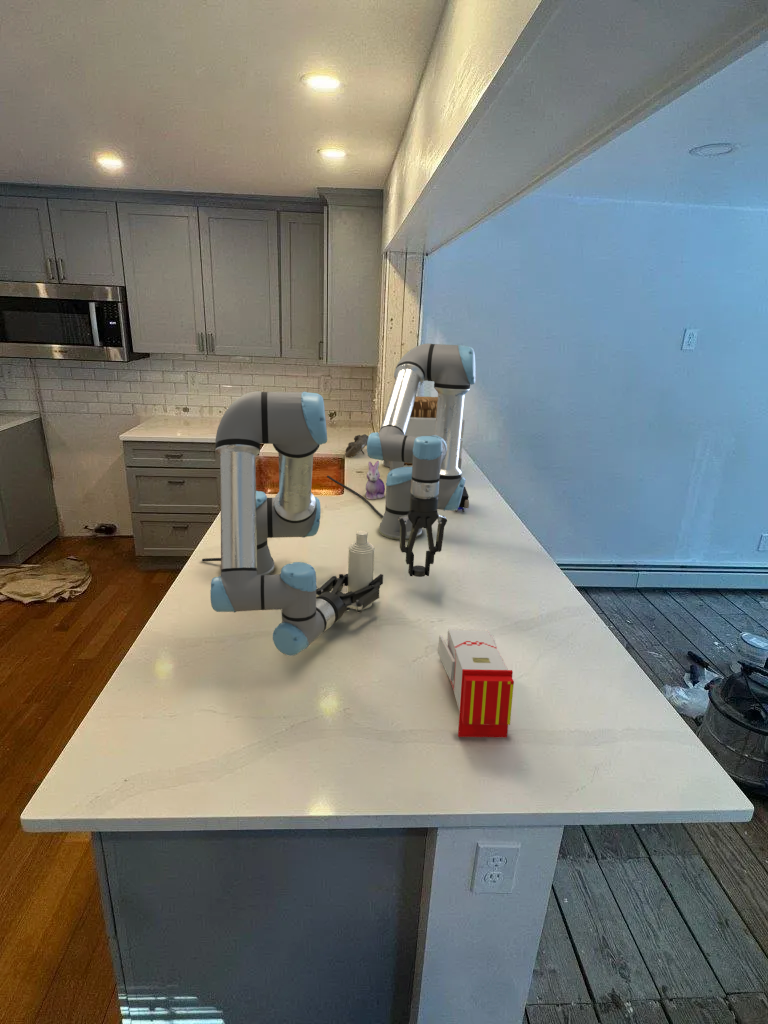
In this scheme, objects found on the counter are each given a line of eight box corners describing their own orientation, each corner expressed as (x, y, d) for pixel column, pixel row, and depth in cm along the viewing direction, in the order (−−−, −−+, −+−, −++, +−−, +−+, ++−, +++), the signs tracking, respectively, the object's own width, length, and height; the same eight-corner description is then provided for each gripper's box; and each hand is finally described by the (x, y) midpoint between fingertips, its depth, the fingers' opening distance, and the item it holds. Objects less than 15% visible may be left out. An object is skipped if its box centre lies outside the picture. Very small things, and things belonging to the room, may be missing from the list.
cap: (422, 570, 162) (423, 564, 161) (428, 576, 158) (428, 570, 158) (409, 571, 160) (409, 566, 160) (414, 577, 157) (415, 572, 156)
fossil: (345, 440, 315) (366, 425, 310) (356, 453, 318) (377, 439, 313) (338, 454, 296) (361, 438, 291) (350, 468, 298) (372, 452, 293)
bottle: (375, 599, 154) (378, 530, 147) (367, 611, 148) (369, 539, 141) (352, 595, 156) (354, 526, 149) (343, 606, 150) (345, 535, 143)
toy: (488, 613, 130) (523, 677, 101) (484, 667, 133) (517, 744, 104) (435, 612, 130) (455, 676, 101) (432, 666, 133) (451, 743, 103)
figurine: (370, 501, 232) (371, 465, 226) (359, 493, 240) (360, 459, 235) (390, 498, 236) (392, 463, 231) (379, 491, 244) (380, 457, 239)
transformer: (382, 463, 289) (386, 382, 275) (445, 464, 293) (451, 384, 279) (390, 482, 257) (394, 392, 243) (460, 483, 261) (468, 394, 247)
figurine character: (469, 517, 223) (463, 501, 236) (471, 500, 219) (465, 484, 233) (452, 516, 222) (447, 500, 236) (454, 499, 219) (449, 483, 232)
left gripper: (289, 614, 140) (338, 579, 160) (358, 637, 132) (401, 597, 151) (289, 587, 138) (338, 554, 157) (359, 609, 129) (402, 571, 149)
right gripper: (395, 499, 147) (390, 580, 155) (458, 499, 149) (451, 579, 157) (390, 490, 154) (386, 568, 162) (451, 490, 156) (445, 567, 164)
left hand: (369, 575), depth 154 cm, fingers closed on bottle, 7 cm apart
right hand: (418, 573), depth 159 cm, fingers closed on cap, 4 cm apart
